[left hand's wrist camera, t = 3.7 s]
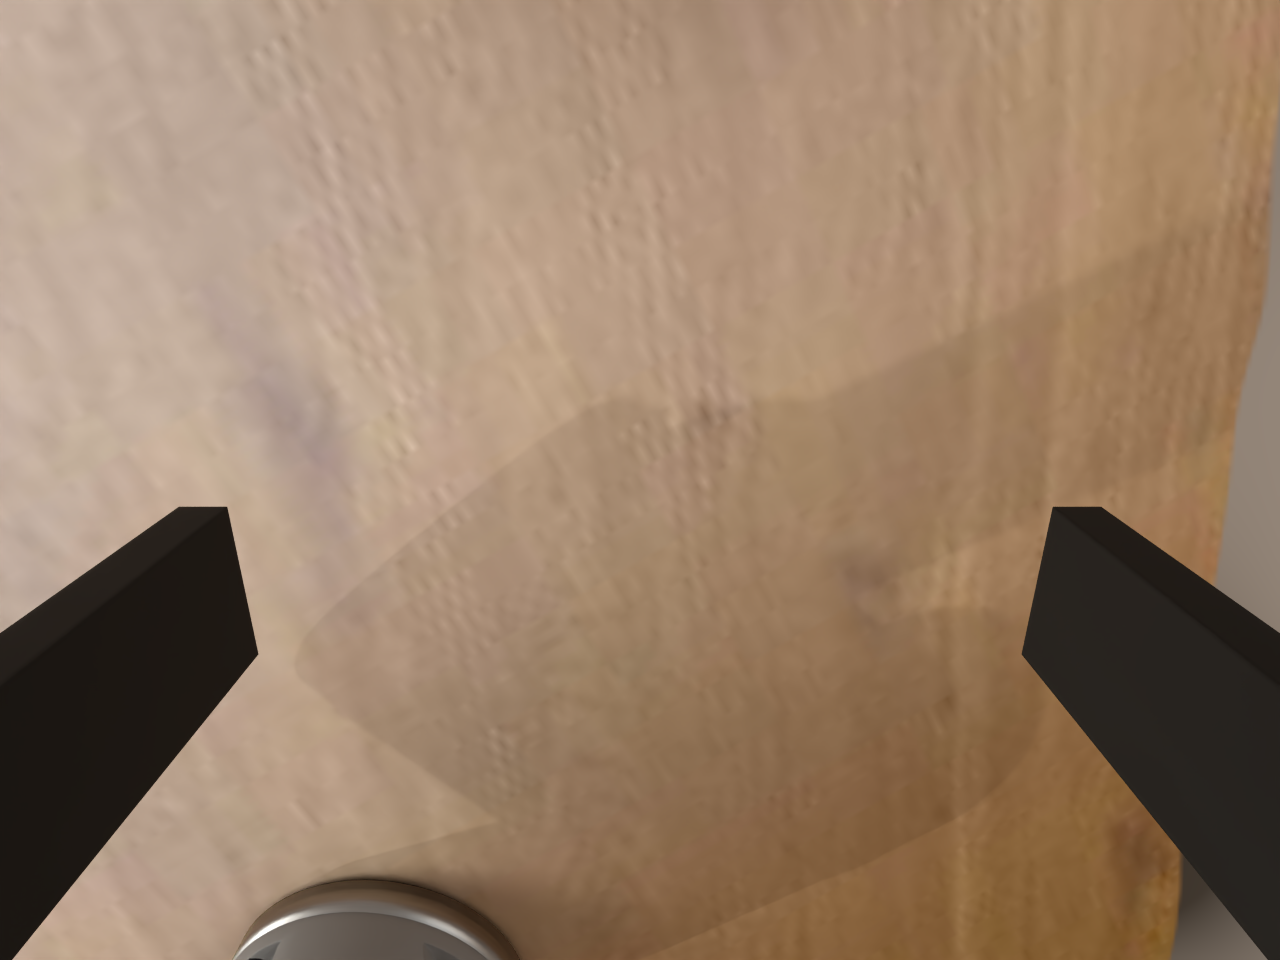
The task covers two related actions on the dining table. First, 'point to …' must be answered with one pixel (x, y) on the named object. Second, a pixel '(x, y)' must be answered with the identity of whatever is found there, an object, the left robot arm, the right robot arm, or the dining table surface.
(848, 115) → the dining table surface
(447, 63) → the dining table surface
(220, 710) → the dining table surface
